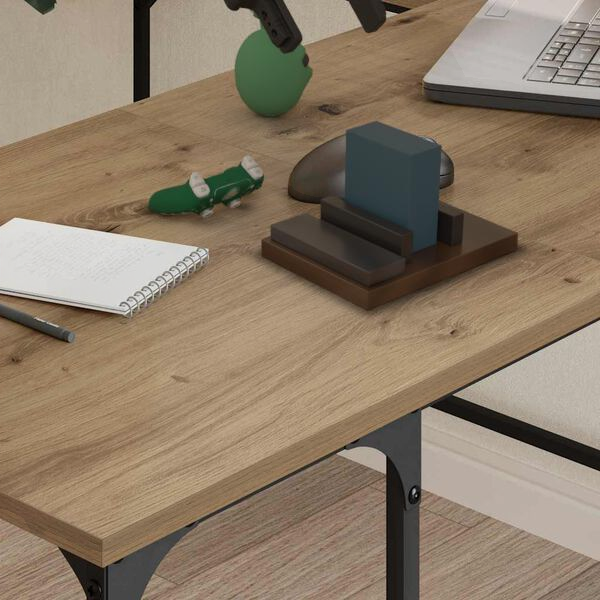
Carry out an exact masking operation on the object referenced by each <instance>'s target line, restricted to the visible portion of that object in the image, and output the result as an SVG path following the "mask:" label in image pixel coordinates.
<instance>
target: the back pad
mask: <svg viewBox="0 0 600 600" xmlns="http://www.w3.org/2000/svg"><path fill="white" fill-rule="evenodd" d="M442 149H443V146H442V144H440V143H437V142H434V141H431V140H428V139H426V138H423V137H421V136H417V135H415V134H413V133H410V132H407V131H405V130H402V129H399V128H398V127H397V128H396V127H394V126H392V125H389V124H386V123H383V122H381V121H378V120H375V121H371V122H368V123H364V124H362V125H358V126H355V127H351V128H348V129H346V130H345V159H344V160H345V162H344V164H345V165H344V166H345V167H344V201H345V202H347V203H350V204H352V205H354V206H356V207H359V208H361V209H363V210H365V211H368V212H370V213H372V214H375V215H377V216H379V217H381V218H384V219H386V220H388V221H390V222H393V223H395V224H397V225H399V226H402V227H404V228H406V229H408V230H411V231H413V250H412V253H414V252H417V251H419V250H422V249H424V248H427V247H430V246H432V245H435V244H436V242H437V224H438V206H439V200H440V187H441V186H440V184H441V168H442V167H441V166H442Z"/></svg>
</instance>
